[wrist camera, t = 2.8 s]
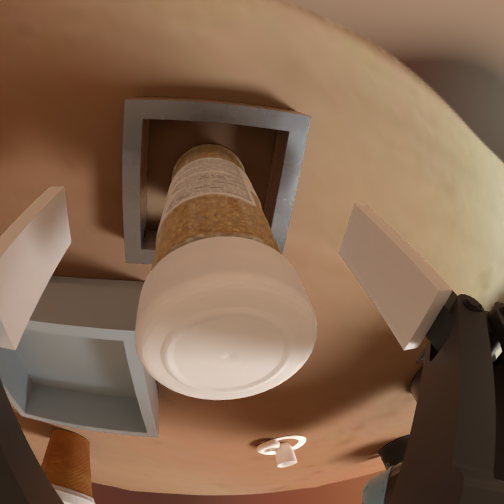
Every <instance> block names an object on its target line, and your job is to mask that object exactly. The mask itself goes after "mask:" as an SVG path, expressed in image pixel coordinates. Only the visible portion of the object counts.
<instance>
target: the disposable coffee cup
mask: <svg viewBox="0 0 504 504" xmlns="http://www.w3.org/2000/svg"><path fill="white" fill-rule="evenodd" d="M41 468H42V469H43V471H44V473H45V475H46V476H47V478H48V479H49V481H50V483H51V484H52V486H53V487H54V489H55V491H56V492H57V494H58V495H59V497H60V498H61V500H62V501H63V502H64V504H95V503H94V499H93V497H92V487H91V473H90V451H89V441H88V440H87V439H85V438H84V437H82V436H80V435H78V434H76V433H74V432H70V431H67V430H62V429H55V430H53V431H52V434H51V437H50V440H49V443H48V446H47V450H46V453H45V456H44V459H43V463H42V466H41Z"/></svg>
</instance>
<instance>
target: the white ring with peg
mask: <svg viewBox="0 0 504 504" xmlns="http://www.w3.org/2000/svg"><path fill="white" fill-rule="evenodd" d="M287 438H294V439H297V440H298V441H299V442H298V443H297V444H296V445H295V446H293V447H291V445H290V444H289V443H287V442H285V443H279V442H278V441H277V440H281V439H287ZM305 442H306V438H305V437H303V436H298V435H292V436H284V437H279V438H275V439H272V440H269V441H267V442H264V443H262V444H260V445H258V446H257V452H259V453H261V454H267V455H273V454H276V461H277V466H278V467H288V466H292V465H294V464H296V463H297V460H296V457H295V454H294V451H293V450H294V449H297V448H299V447H300V446H302V445H303V444H304V443H305ZM273 450H275V451H273Z"/></svg>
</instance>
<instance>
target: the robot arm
mask: <svg viewBox="0 0 504 504" xmlns="http://www.w3.org/2000/svg"><path fill="white" fill-rule="evenodd" d="M70 244H71V236H70V229H69V222H68V214H67V205H66V195H65V186H57V187H49V188H48V189H47V190H46V191H45V192H44V193H43V194H42V195H41V196H39V197H38V198H37V199H36V200H35V201H34V202H33V203H32V204H31V205H30V206H29V207H28V208H27V209H26V210H25V211H24V212H23V213H22V214H21V215H20V216H19V217H18V218H17V219H16V220H15V221H14V222H13V223H12V224H11V225H10V226H9V228H8V229H7V230H6V231H5V232H4V233H3V234H2V235H1V236H0V347H2V348H7V349H11V350H16V349H17V346H18V344H19V342H20V339H21V337H22V335H23V332H24V330H25V328H26V326H27V324H28V321H29V319H30V317H31V315H32V313H33V311H34V309H35V307H36V305H37V303H38V301H39V299H40V297H41V295H42V293H43V291H44V289H45V287H46V286H47V284H48V282H49V280H50V278H51V276H52V275H53V273H54V271H55V269H56V267H57V266H58V264H59V262H60V260H61V259H62V257H63V255H64V254H65V252H66V250H67V249H68V247H69V245H70ZM339 254H340V255H341V257H342V258H343V260H344V261H345V262H346V264H347V265H348V267H349V268H350V270H351V271H352V272H353V274H354V275H355V277H356V278H357V280H358V281H359V283H360V284H361V286H362V287H363V288H364V290H365V291H366V293H367V294H368V296H369V297H370V299H371V300H372V302H373V303H374V305H375V306H376V308H377V309H378V311H379V312H380V314H381V316H382V317H383V319H384V320H385V322H386V323H387V325H388V326H389V328H390V329H391V331H392V333H393V334H394V336H395V337H396V339H397V341H398V342H399V344H400V345H401V347H402V349H403V350H409V349H414V348H418V347H419V345H420V344H421V342H422V341H423V339H424V338H425V336H427V338H428V339H429V341H430V342H429V344H428V345H427V347H426V348H425V350H424V351H423V353H422V354H421V356H420V357H419V358H418V360H417V362H416V363H417V364H419V363H420V361H421V360H423V359H424V363H423V364H422V366H423V367H422V369H421V370H420V371H419V372H418V373H417V375H416V376H415V378H414V379H413V381H412V383H411V386H410V390H411V393H412V394H413V396H414V398H415V400H416V401H417V405H416V410H415V415H414V419H413V424H412V428H411V432H410V436H409V440H408V444H407V448H406V451H405V455H404V458H403V462H402V463H400V464H398V465H396V466H391V467H389V469H388V470H386V471H384V472H382V473H380V474H378V475H376V476H374V477H373V478H371V479H370V480H368V481H367V483H366V484H365V486H364V489H363V494H362V504H504V304H503V303H500V302H496V303H495V304H494V306H493V307H492V309H491V311H490V312H488V311H484V309H483V307H482V305H481V304H480V303H479V302H478V301H477V300H475V299H474V298H472V297H470V296H468V295H465V294H460V295H458V296H457V295H456V294H455V293H454V292H453V290H452V289H451V288H450V286H449V285H448V284H447V283H446V282H445V281H444V280H443V279H442V278H441V277H440V276H439V275H438V274H437V272H436V271H435V270H434V269H433V268H432V267H431V266H430V265H429V264H428V263H427V262H426V261H425V260H424V259H423V258H422V257H421V256H420V255H419V254H418V253H417V252H416V251H415V250H414V249H413V248H412V247H411V246H410V245H409V244H408V243H407V242H406V241H405V240H404V239H403V238H402V237H401V236H400V235H399V234H398V233H397V232H396V231H395V230H393V229H392V228H391V227H390V226H389V225H388V224H387V223H386V222H385V221H384V220H383V219H382V218H381V217H379V216H378V215H377V214H376V213H375V212H374V211H373V210H372V209H371V208H369V207H368V206H366V205H359V204H354V207H353V210H352V214H351V217H350V220H349V223H348V227H347V230H346V233H345V236H344V240H343V243H342V246H341V249H340V252H339ZM500 346H501V348H502V352H501V354H500V355H499V356H498V358H497V359H496V356H495V352H496V351H497V349H498V348H499V347H500ZM0 504H64V502H63V501H62V500H61V498H60V497H59V495H58V494H57V492H56V491H55V489H54V487H53V486H52V484H51V483H50V481H49V479H48V478H47V476H46V475H45V473H44V471H43V469H42V468H41V466H40V464H39V463H38V461H37V459H36V457H35V455H34V453H33V452H32V450H31V448H30V446H29V444H28V442H27V440H26V438H25V436H24V434H23V432H22V430H21V427H20V425H19V423H18V421H17V419H16V416H15V414H14V412H13V409H12V407H11V404H10V402H9V399H8V397H7V394H6V392H5V389H4V386H3V384H2V381H1V378H0Z"/></svg>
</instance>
